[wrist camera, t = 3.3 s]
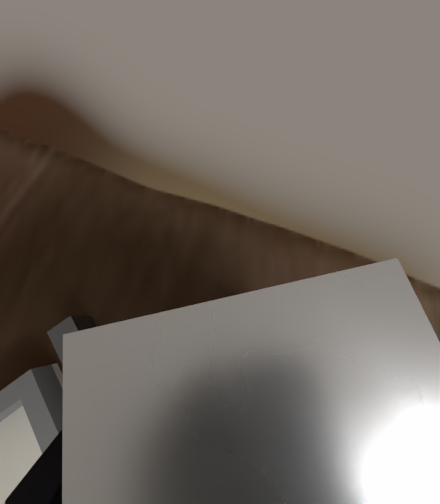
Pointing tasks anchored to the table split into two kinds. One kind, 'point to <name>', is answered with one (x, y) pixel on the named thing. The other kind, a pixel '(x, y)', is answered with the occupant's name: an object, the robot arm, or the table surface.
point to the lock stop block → (259, 399)
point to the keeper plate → (28, 422)
